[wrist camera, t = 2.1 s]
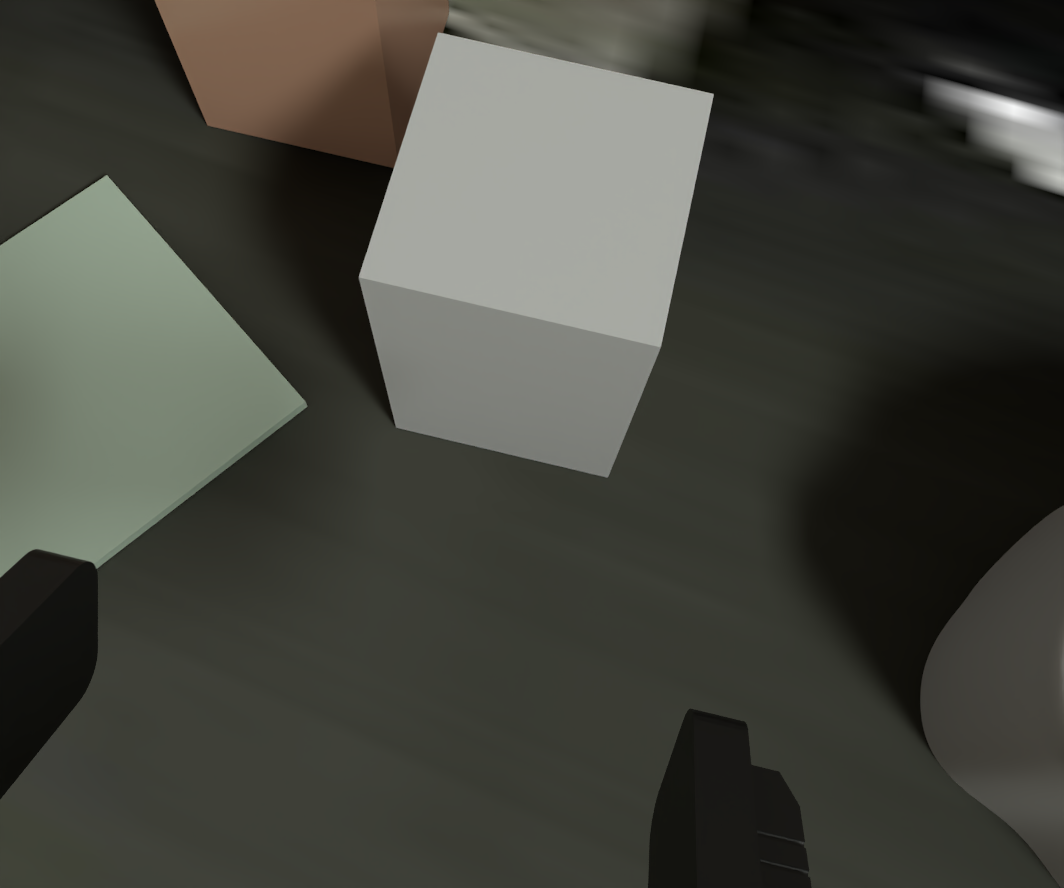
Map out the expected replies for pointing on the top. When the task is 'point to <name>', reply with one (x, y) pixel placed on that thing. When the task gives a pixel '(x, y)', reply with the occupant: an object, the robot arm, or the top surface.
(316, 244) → the top surface
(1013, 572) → the lumpy-topped squat cylinder
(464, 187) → the light grey rectangular block
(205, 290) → the green mat
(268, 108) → the salmon brown rectangular block
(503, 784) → the top surface
